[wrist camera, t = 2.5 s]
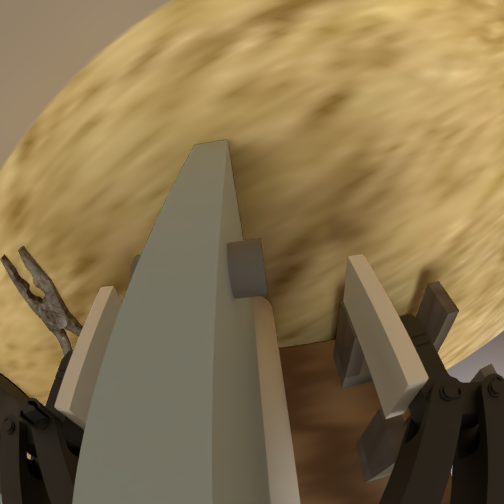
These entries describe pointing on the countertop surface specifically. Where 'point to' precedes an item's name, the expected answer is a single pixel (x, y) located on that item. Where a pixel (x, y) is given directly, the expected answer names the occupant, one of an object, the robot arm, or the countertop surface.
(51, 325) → the pliers
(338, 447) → the cabinet
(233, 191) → the door
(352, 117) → the countertop surface
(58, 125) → the countertop surface
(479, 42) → the countertop surface
